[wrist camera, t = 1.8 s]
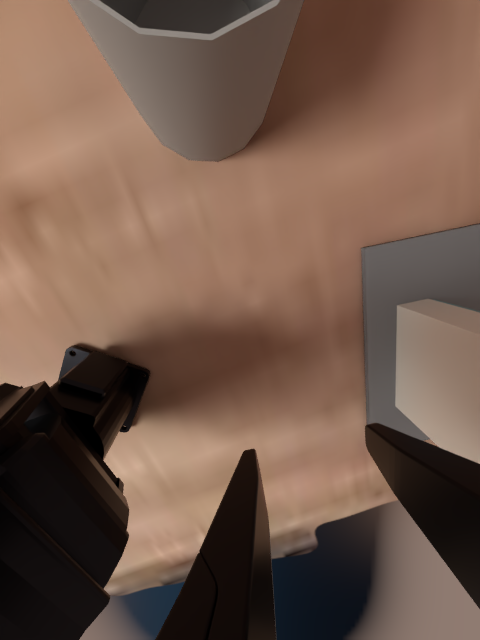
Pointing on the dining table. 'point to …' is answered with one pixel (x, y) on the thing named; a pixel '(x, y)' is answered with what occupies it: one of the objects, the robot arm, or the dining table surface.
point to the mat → (404, 287)
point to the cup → (195, 65)
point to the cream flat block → (440, 373)
